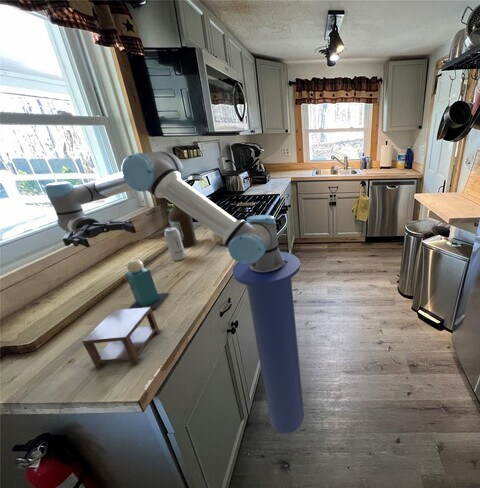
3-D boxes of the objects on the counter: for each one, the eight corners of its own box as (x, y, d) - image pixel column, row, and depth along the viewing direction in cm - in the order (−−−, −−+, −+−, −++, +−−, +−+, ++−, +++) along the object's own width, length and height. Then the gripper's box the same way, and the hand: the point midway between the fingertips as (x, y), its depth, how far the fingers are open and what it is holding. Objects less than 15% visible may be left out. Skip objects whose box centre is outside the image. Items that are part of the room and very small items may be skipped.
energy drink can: (180, 261, 121) (171, 231, 115) (169, 260, 122) (160, 231, 116) (188, 256, 126) (181, 227, 120) (178, 255, 127) (169, 226, 121)
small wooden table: (159, 331, 78) (150, 306, 74) (137, 363, 67) (125, 337, 63) (124, 334, 77) (113, 310, 73) (96, 368, 66) (81, 341, 62)
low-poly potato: (227, 249, 133) (243, 234, 137) (211, 234, 128) (228, 218, 133) (219, 248, 144) (234, 234, 149) (204, 234, 140) (220, 220, 144)
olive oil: (187, 239, 146) (176, 195, 136) (202, 241, 143) (191, 196, 133) (171, 246, 137) (158, 200, 127) (186, 249, 134) (173, 201, 124)
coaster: (167, 294, 96) (167, 292, 96) (155, 309, 88) (155, 308, 87) (142, 296, 95) (141, 295, 95) (127, 311, 87) (127, 310, 87)
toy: (151, 295, 94) (137, 255, 88) (159, 299, 92) (145, 258, 85) (136, 303, 90) (120, 262, 84) (144, 307, 88) (128, 265, 81)
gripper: (125, 226, 108) (153, 234, 98) (44, 248, 88) (68, 261, 78) (119, 208, 105) (147, 215, 95) (34, 227, 85) (57, 238, 75)
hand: (111, 235), depth 86 cm, fingers open, 13 cm apart
